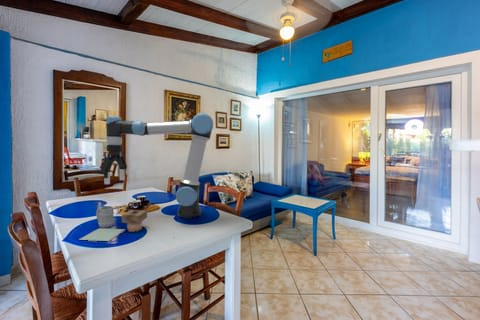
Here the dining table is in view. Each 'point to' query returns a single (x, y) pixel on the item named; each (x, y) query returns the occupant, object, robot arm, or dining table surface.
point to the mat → (102, 234)
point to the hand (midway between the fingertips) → (115, 182)
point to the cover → (134, 216)
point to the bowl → (134, 227)
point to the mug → (105, 216)
